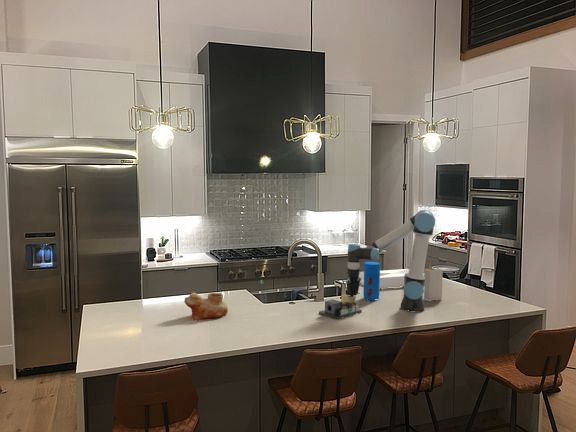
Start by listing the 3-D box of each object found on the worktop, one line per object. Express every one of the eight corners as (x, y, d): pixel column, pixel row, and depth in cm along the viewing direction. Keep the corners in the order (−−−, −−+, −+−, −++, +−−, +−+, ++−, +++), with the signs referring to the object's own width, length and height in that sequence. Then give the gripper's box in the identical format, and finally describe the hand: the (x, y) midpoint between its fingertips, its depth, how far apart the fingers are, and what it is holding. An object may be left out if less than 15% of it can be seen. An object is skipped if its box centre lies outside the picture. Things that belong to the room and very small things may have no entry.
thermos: (362, 300, 360) (363, 263, 358) (364, 296, 371) (365, 261, 368) (378, 301, 357) (379, 265, 355) (380, 297, 367) (381, 262, 365)
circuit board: (361, 312, 330) (362, 299, 329) (336, 319, 315) (337, 305, 314) (343, 307, 341) (344, 294, 340) (318, 313, 326) (319, 300, 325)
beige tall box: (441, 300, 364) (443, 263, 362) (428, 302, 359) (430, 265, 357) (434, 297, 371) (435, 262, 369) (421, 299, 366) (422, 263, 364)
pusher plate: (358, 310, 327) (359, 297, 327) (341, 315, 317) (341, 302, 316) (344, 306, 336) (344, 294, 335) (326, 310, 325) (327, 298, 325)
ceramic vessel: (182, 315, 319) (182, 291, 318) (224, 311, 328) (224, 287, 327) (186, 322, 306) (186, 296, 305) (230, 317, 316) (230, 293, 314)
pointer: (352, 310, 323) (352, 303, 322) (350, 311, 321) (350, 303, 321) (348, 309, 325) (348, 301, 325) (346, 310, 324) (346, 302, 323)
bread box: (408, 280, 425) (408, 268, 425) (424, 286, 405) (425, 274, 404) (358, 284, 410) (359, 272, 409) (373, 290, 389) (373, 278, 388)
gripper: (355, 266, 340) (354, 302, 342) (342, 268, 331) (341, 305, 334) (364, 267, 335) (363, 304, 337) (351, 270, 326) (350, 307, 328)
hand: (352, 304), depth 335 cm, fingers closed
